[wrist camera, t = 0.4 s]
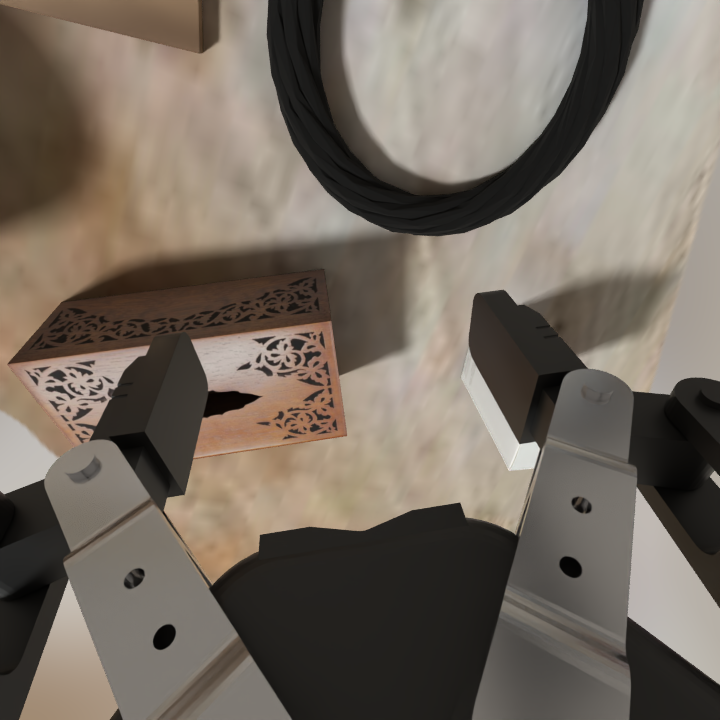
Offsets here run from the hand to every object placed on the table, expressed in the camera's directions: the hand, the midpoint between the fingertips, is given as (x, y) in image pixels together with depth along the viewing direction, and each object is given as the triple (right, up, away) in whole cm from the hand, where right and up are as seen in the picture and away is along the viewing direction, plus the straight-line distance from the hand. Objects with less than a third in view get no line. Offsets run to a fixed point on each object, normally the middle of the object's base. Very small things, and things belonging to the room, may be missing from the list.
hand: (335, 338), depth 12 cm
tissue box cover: (-15, +2, +34) cm, 37 cm away
